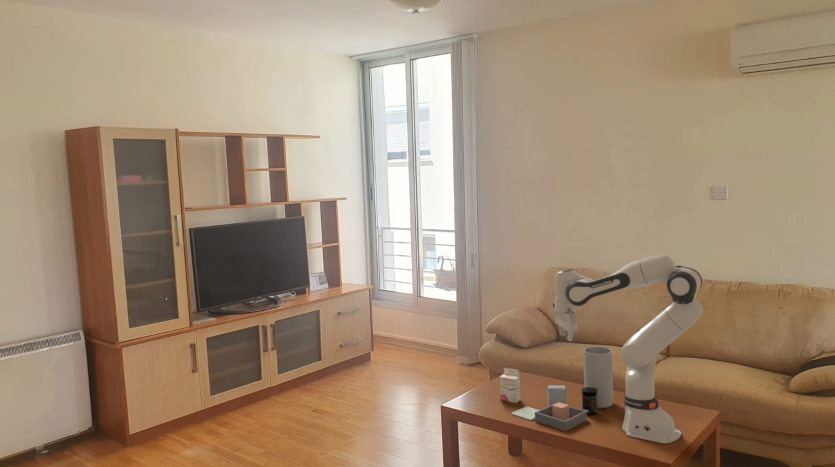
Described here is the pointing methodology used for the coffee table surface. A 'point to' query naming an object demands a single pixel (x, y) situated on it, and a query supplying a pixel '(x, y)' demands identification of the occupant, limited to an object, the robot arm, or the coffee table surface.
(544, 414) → the parts bin
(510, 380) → the ink cartridge box
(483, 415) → the coffee table surface
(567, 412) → the salmon pink block
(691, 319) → the robot arm
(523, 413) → the pad
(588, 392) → the supplement container
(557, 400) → the medicine box
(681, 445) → the coffee table surface
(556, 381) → the coffee table surface
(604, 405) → the cylinder vase
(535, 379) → the coffee table surface
